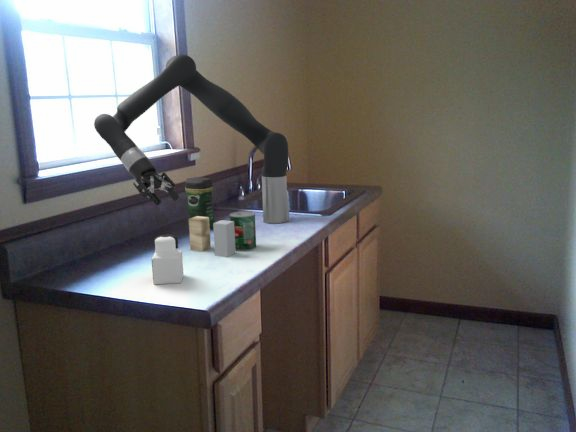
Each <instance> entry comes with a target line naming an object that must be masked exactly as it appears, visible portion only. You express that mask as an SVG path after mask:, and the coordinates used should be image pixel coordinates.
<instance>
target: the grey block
mask: <svg viewBox="0 0 576 432" xmlns="http://www.w3.org/2000/svg"><path fill="white" fill-rule="evenodd" d="M212 229H213V242H214V246H213V247H214V256H215V257H221V258H222V257H223V258H229V257H231V256H233V255H235V254H236V252H237V251H235V230H234V221H230V220H224V219H222V220H218V221H215V223H213V228H212Z"/></svg>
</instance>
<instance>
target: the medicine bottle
mask: <svg viewBox="0 0 576 432" xmlns="http://www.w3.org/2000/svg"><path fill="white" fill-rule="evenodd" d="M153 243H154V254H153V256H152V257H151V268H152V280H153V285H167V284H171V285H172V284H182V280H183V277H184V263H183V251H182V250H181V249H179V239H178V236H176V235H174V234H171V233H170V234H169V233H168V234H167V233H165V234H161V235H158V236H156V237H154V239H153Z"/></svg>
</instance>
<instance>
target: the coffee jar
mask: <svg viewBox="0 0 576 432" xmlns="http://www.w3.org/2000/svg"><path fill="white" fill-rule="evenodd" d="M213 186H214V185H213V181H212V179H211V178H209V177H199V176H193V177H190V178H189V177H188V178H186V179H185V185H184V189H185V192H186V193H185V194H186V197H187V200H186V202H187V222H186V223H187V228H188V229H189V219H190V218H193V217H196V216H202V217H209V226H210V230H212V229H214V228H213V223H215V222H216V221H215V220H216V219H215V214H214V207H213V191H214V187H213Z"/></svg>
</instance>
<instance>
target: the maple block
mask: <svg viewBox="0 0 576 432" xmlns="http://www.w3.org/2000/svg"><path fill="white" fill-rule="evenodd" d="M188 229H189V230H188V231H189V245H190V249H189V250H190V251H195V252H206V251H207V250H209V249H211V248H212V246H211V231H210V230H211V229H210V226H209V217H202V216H196V217H193V218H190V219H189V228H188Z"/></svg>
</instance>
